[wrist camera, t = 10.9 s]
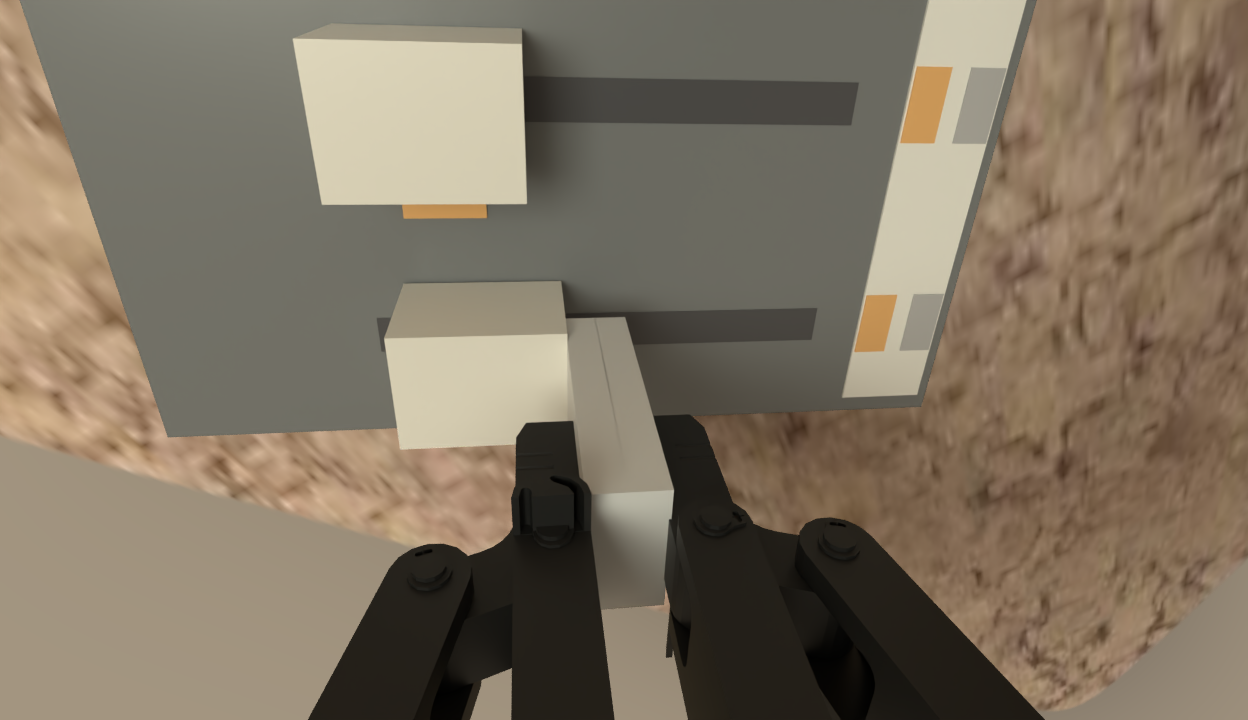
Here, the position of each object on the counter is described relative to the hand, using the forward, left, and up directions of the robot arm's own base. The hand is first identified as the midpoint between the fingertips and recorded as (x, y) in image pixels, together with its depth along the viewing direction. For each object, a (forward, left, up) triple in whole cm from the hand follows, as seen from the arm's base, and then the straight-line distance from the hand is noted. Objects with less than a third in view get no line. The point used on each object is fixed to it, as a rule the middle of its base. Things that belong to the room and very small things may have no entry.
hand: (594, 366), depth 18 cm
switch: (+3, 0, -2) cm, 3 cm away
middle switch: (+4, -6, -2) cm, 7 cm away
